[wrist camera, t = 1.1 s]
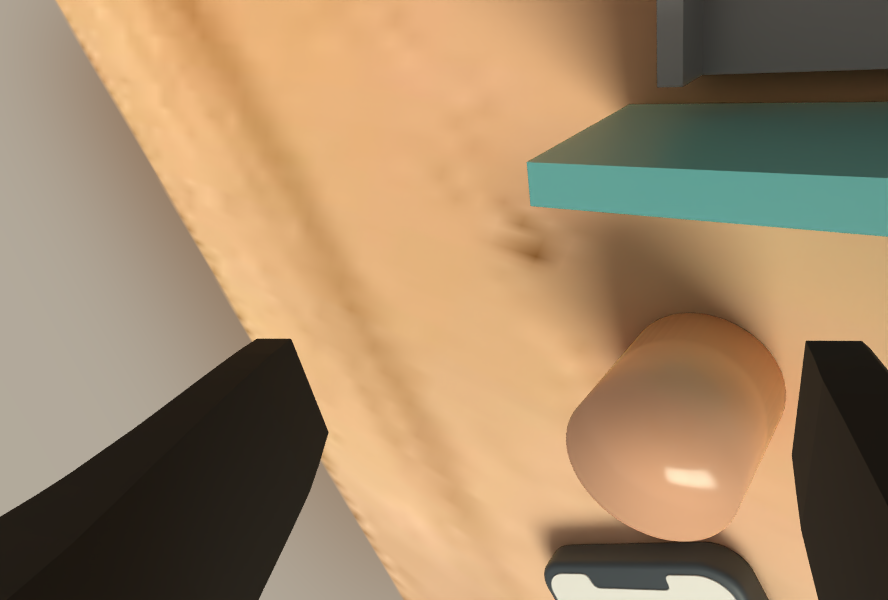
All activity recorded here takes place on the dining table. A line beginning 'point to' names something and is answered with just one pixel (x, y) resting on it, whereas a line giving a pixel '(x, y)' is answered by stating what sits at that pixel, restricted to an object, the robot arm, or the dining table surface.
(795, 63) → the drawer
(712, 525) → the brown round cylinder
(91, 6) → the dining table surface
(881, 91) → the dining table surface
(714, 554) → the phone case
